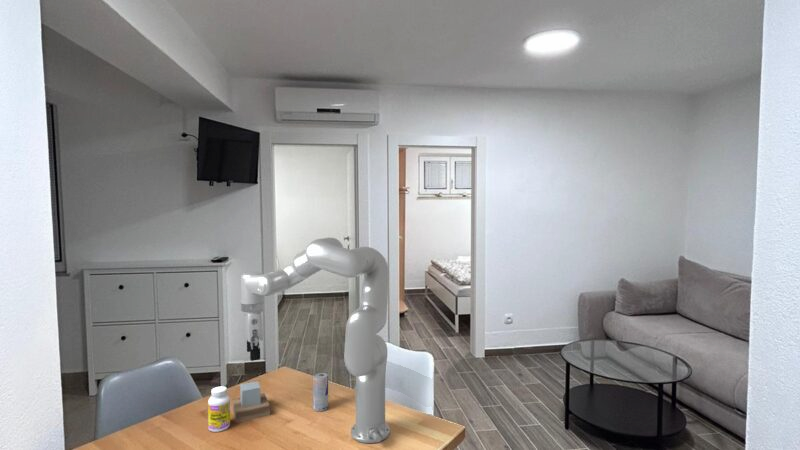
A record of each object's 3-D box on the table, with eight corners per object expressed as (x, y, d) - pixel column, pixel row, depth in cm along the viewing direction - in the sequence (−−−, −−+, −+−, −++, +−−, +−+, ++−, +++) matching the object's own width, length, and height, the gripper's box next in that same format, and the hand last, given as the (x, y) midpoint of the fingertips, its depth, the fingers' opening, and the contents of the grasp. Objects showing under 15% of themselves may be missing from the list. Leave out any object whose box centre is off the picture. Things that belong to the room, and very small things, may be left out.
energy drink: (329, 405, 152) (329, 373, 151) (325, 412, 146) (325, 379, 146) (315, 404, 152) (315, 372, 152) (311, 411, 147) (311, 378, 146)
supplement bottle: (206, 434, 132) (205, 394, 132) (210, 423, 139) (209, 386, 138) (229, 431, 134) (228, 392, 133) (231, 421, 140) (231, 383, 140)
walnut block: (270, 416, 144) (269, 405, 144) (236, 424, 139) (236, 412, 139) (264, 403, 154) (264, 393, 154) (232, 410, 149) (232, 399, 149)
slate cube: (260, 404, 145) (260, 387, 145) (242, 408, 142) (242, 391, 142) (257, 397, 150) (257, 381, 150) (240, 400, 147) (240, 384, 147)
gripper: (267, 311, 139) (268, 361, 140) (260, 301, 154) (260, 346, 155) (244, 314, 136) (244, 365, 136) (238, 303, 151) (239, 349, 152)
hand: (253, 355), depth 146 cm, fingers open, 9 cm apart
